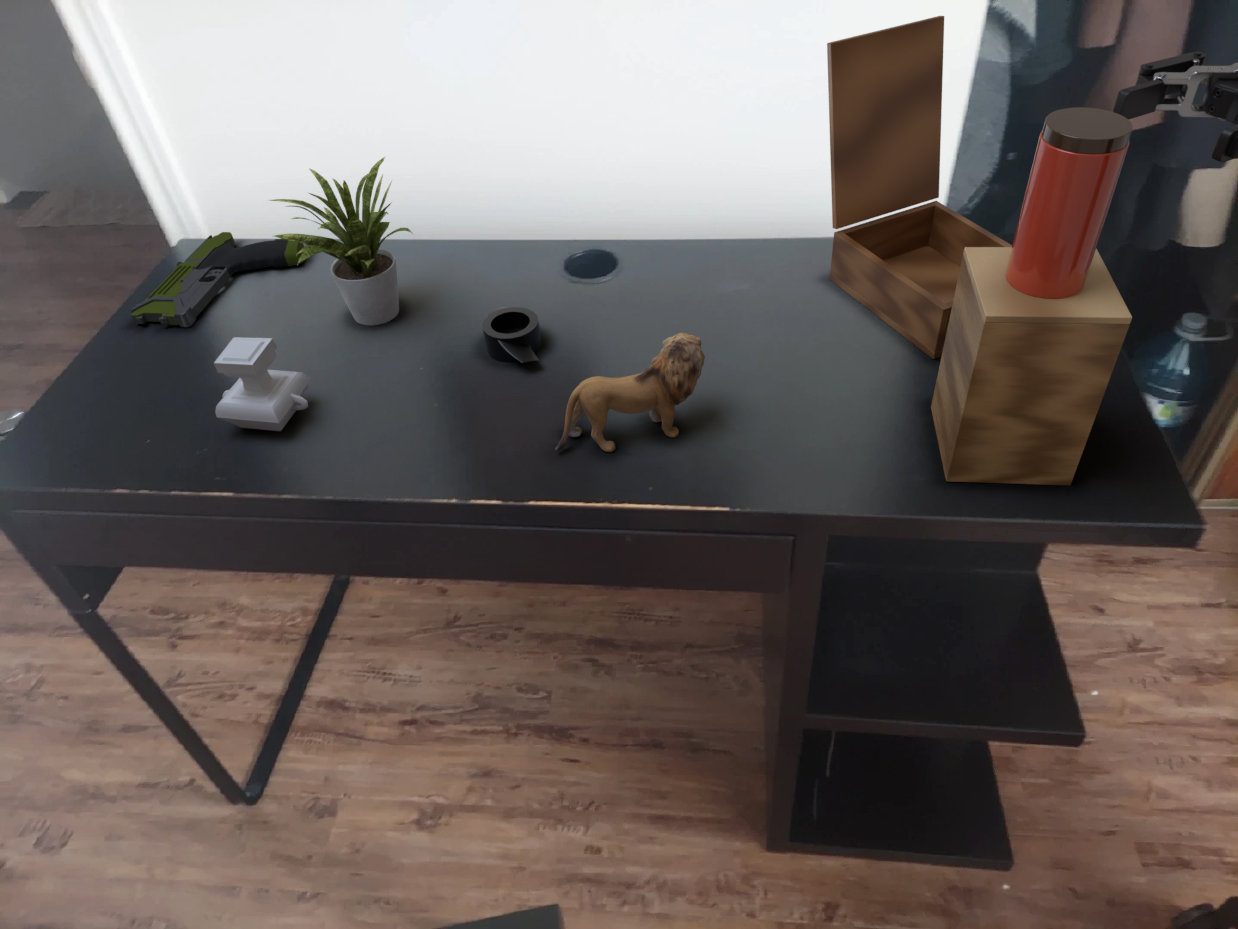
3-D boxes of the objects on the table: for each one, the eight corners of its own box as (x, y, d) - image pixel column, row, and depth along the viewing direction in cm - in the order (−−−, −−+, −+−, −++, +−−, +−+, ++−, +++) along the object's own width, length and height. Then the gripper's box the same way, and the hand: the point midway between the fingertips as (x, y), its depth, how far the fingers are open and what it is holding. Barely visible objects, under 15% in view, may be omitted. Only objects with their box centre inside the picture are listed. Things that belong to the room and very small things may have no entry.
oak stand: (1044, 410, 84) (1094, 253, 73) (1070, 485, 76) (1130, 324, 65) (930, 407, 85) (963, 253, 74) (945, 481, 78) (984, 322, 67)
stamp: (328, 400, 92) (303, 330, 86) (299, 443, 87) (270, 372, 81) (247, 394, 93) (217, 324, 88) (214, 436, 89) (180, 365, 83)
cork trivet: (1094, 253, 73) (1096, 246, 72) (1130, 324, 65) (1132, 317, 65) (963, 253, 74) (964, 246, 74) (984, 322, 67) (986, 315, 66)
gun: (248, 334, 102) (130, 330, 105) (318, 246, 115) (211, 245, 118) (240, 315, 100) (120, 312, 103) (311, 228, 114) (204, 227, 117)
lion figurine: (691, 394, 89) (690, 316, 82) (715, 426, 85) (716, 346, 79) (547, 438, 85) (535, 359, 79) (566, 473, 81) (554, 393, 75)
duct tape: (465, 372, 94) (460, 348, 92) (491, 317, 101) (487, 295, 99) (538, 375, 92) (535, 352, 90) (559, 320, 100) (556, 297, 98)
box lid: (944, 15, 92) (916, 14, 95) (830, 43, 88) (805, 40, 92) (939, 197, 102) (913, 190, 105) (836, 229, 98) (813, 220, 101)
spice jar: (1098, 277, 69) (1150, 120, 61) (1059, 307, 67) (1108, 147, 58) (1030, 252, 72) (1070, 100, 64) (990, 280, 70) (1027, 125, 62)
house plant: (352, 268, 111) (313, 137, 100) (457, 278, 108) (429, 143, 97) (291, 335, 101) (240, 197, 90) (405, 348, 98) (366, 206, 87)
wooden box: (1040, 320, 94) (1054, 270, 90) (933, 359, 90) (943, 309, 86) (927, 246, 106) (936, 200, 102) (829, 279, 102) (834, 232, 98)
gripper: (1393, 157, 67) (1235, 214, 63) (1222, 96, 77) (1075, 142, 72) (1449, 51, 62) (1281, 104, 58) (1259, 0, 72) (1102, 42, 67)
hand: (1166, 125), depth 65 cm, fingers open, 8 cm apart
